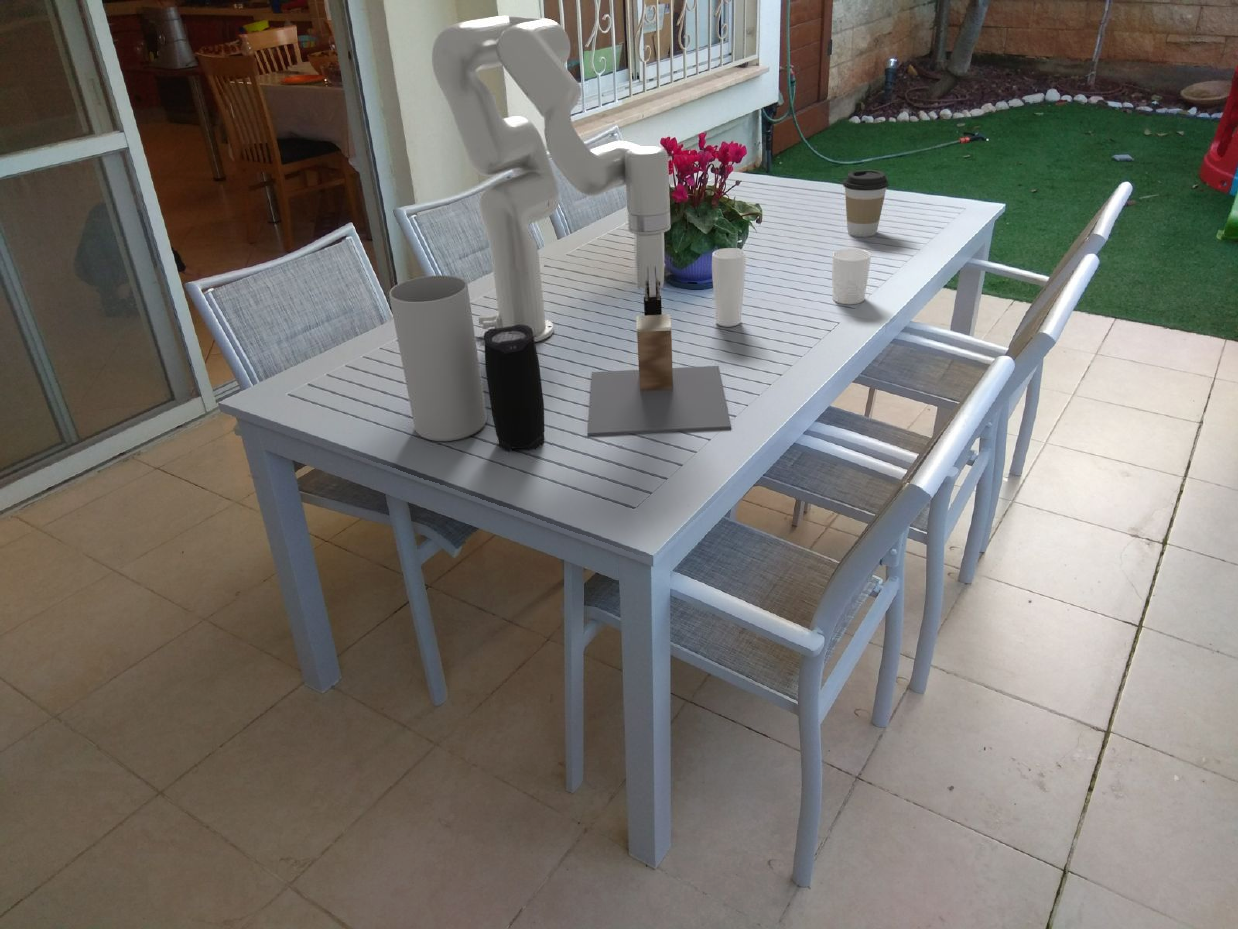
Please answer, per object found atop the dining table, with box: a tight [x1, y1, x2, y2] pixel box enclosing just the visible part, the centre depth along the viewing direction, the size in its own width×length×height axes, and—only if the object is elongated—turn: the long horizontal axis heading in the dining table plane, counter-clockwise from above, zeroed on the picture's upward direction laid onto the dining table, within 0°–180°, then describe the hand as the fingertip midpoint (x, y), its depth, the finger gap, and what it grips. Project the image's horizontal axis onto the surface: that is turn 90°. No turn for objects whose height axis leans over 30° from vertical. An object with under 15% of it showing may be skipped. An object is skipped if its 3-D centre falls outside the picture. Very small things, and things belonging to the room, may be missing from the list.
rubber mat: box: [587, 365, 732, 437], centre depth 166 cm, size 24×24×1 cm
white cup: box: [831, 248, 872, 305], centre depth 200 cm, size 8×8×10 cm
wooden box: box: [636, 313, 673, 391], centre depth 168 cm, size 6×6×12 cm
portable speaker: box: [483, 324, 545, 452], centre depth 150 cm, size 9×9×20 cm
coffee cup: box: [842, 169, 890, 238], centre depth 238 cm, size 11×11×15 cm
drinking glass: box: [711, 247, 747, 328], centre depth 191 cm, size 7×7×15 cm
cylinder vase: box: [388, 274, 488, 442], centre depth 156 cm, size 12×12×25 cm
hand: (653, 317), depth 174 cm, fingers closed
